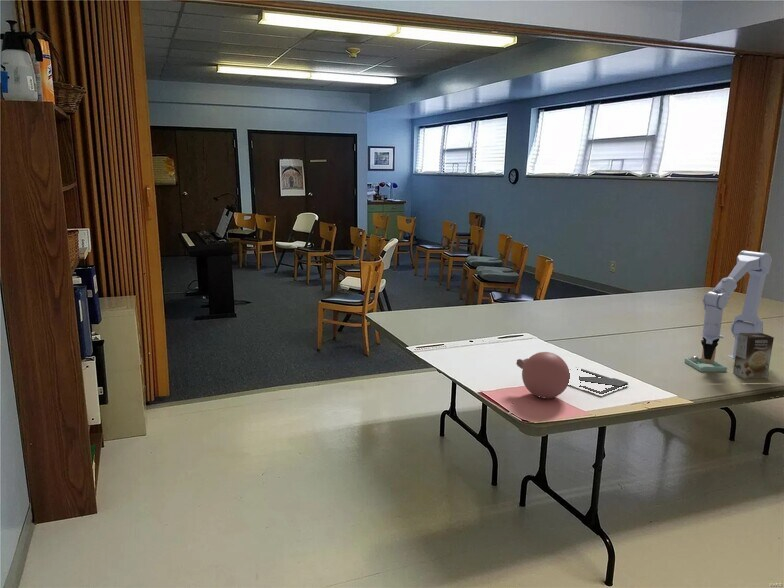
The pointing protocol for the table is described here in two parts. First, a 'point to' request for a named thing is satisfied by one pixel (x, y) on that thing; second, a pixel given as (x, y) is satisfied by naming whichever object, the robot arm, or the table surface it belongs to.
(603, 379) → the picture frame
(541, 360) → the balloon
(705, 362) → the shaker
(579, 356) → the table surface
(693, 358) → the ball
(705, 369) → the tray
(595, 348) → the table surface
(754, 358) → the coffee box
